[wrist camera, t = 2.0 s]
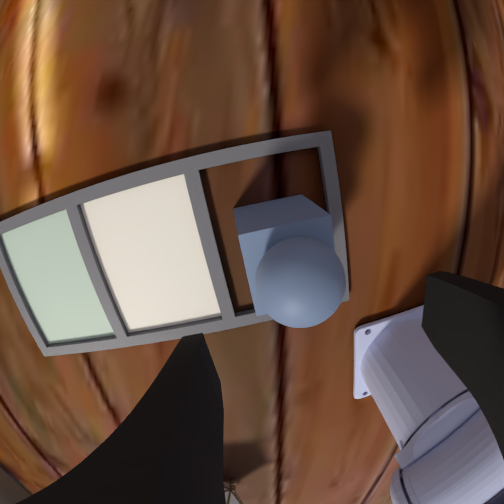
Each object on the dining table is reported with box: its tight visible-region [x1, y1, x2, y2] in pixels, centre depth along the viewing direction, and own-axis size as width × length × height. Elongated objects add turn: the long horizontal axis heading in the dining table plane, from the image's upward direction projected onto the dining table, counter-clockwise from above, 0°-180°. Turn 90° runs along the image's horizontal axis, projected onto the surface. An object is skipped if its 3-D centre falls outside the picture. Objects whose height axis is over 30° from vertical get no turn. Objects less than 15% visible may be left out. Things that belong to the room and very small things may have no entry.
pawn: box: [233, 194, 346, 328], centre depth 14 cm, size 4×4×8 cm
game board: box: [0, 131, 349, 356], centre depth 18 cm, size 23×11×1 cm, turn 101°
